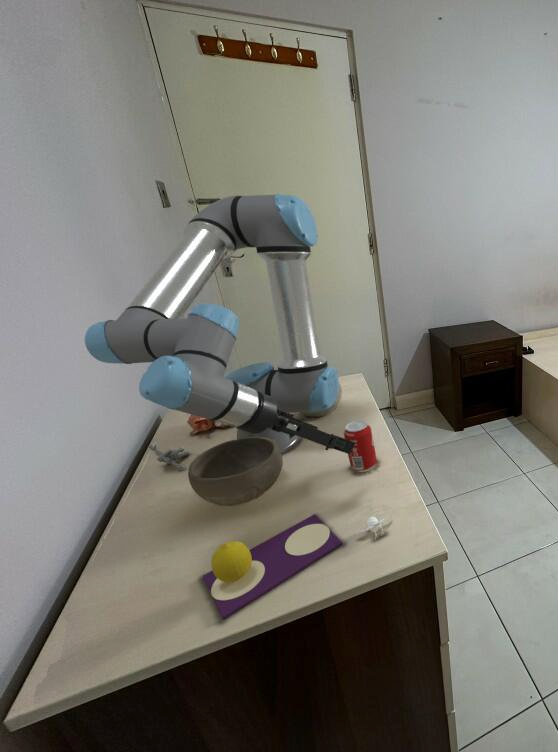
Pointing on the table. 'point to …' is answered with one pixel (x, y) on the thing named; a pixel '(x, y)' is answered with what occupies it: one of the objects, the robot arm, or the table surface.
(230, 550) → the lemon
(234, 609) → the placemat
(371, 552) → the table surface
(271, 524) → the table surface
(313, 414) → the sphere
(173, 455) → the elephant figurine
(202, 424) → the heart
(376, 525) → the white bird figurine
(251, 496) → the bowl
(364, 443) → the beverage can
